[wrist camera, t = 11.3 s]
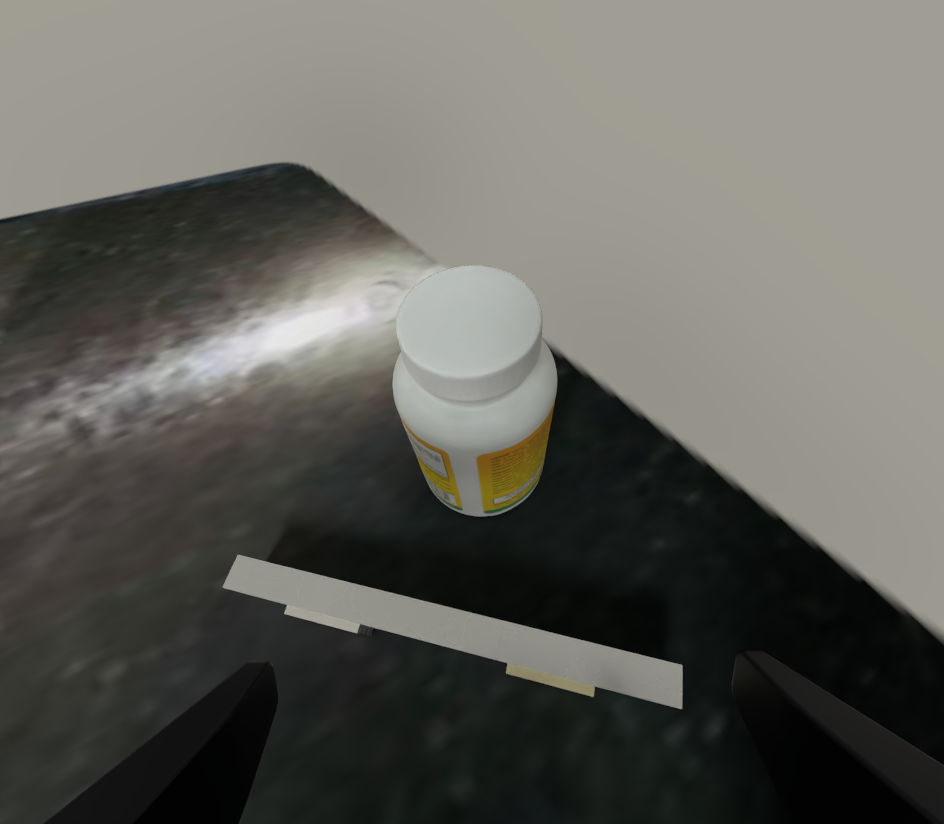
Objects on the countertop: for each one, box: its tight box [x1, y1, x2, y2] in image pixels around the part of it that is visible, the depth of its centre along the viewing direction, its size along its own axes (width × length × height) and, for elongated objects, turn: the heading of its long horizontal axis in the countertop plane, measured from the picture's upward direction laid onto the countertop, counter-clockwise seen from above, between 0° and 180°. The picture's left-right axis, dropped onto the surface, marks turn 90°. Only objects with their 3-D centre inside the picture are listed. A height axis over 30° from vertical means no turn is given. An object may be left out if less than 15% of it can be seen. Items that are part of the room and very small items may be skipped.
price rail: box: [222, 555, 682, 709], centre depth 16 cm, size 16×2×2 cm, turn 77°
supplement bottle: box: [393, 265, 557, 517], centre depth 16 cm, size 5×5×10 cm
